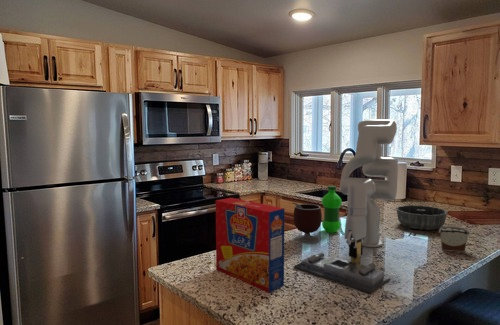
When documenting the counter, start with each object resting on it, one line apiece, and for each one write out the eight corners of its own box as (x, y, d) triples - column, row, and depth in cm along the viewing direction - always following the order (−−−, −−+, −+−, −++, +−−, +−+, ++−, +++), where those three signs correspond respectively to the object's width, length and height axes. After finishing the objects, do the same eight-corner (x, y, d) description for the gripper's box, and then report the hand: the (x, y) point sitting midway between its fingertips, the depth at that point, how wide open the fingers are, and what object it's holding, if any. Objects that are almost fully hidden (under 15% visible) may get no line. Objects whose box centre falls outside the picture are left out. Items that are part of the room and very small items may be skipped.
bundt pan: (387, 226, 202) (387, 209, 201) (407, 218, 219) (408, 202, 218) (435, 236, 182) (436, 217, 181) (453, 227, 199) (454, 209, 198)
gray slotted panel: (316, 257, 151) (317, 244, 150) (390, 279, 128) (390, 264, 128) (294, 268, 139) (294, 253, 139) (370, 294, 117) (370, 277, 116)
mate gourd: (311, 234, 185) (312, 197, 183) (326, 242, 172) (327, 202, 170) (285, 238, 179) (285, 199, 177) (299, 246, 166) (300, 204, 164)
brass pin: (353, 262, 145) (353, 239, 144) (362, 265, 142) (362, 241, 141) (348, 265, 142) (349, 241, 141) (357, 268, 140) (358, 243, 139)
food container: (464, 247, 164) (465, 226, 163) (468, 252, 158) (469, 230, 157) (435, 245, 167) (436, 225, 166) (438, 249, 161) (439, 228, 160)
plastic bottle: (332, 235, 183) (333, 188, 181) (317, 230, 192) (318, 185, 189) (344, 232, 189) (345, 186, 187) (329, 227, 197) (330, 184, 195)
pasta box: (216, 269, 138) (215, 200, 136) (231, 264, 144) (230, 197, 141) (268, 293, 118) (269, 212, 116) (283, 285, 124) (284, 208, 121)
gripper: (358, 206, 149) (357, 248, 151) (337, 213, 137) (336, 258, 139) (375, 209, 144) (373, 252, 145) (355, 216, 132) (354, 263, 133)
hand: (355, 255), depth 142 cm, fingers closed on brass pin, 4 cm apart
